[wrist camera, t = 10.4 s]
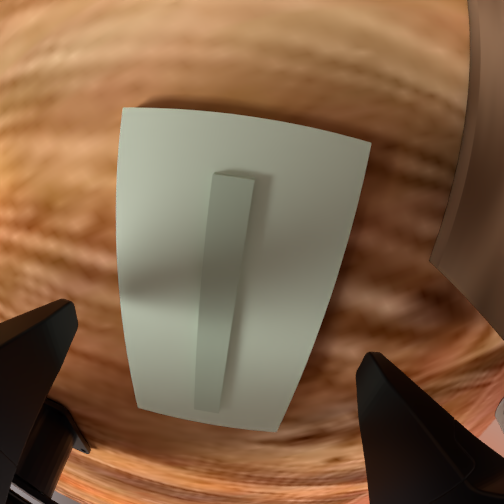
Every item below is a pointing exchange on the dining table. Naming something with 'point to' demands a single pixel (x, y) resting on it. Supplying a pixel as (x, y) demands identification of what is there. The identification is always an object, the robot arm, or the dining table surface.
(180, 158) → the lid
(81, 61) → the dining table surface
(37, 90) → the dining table surface
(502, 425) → the thermos bottle
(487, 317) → the box
